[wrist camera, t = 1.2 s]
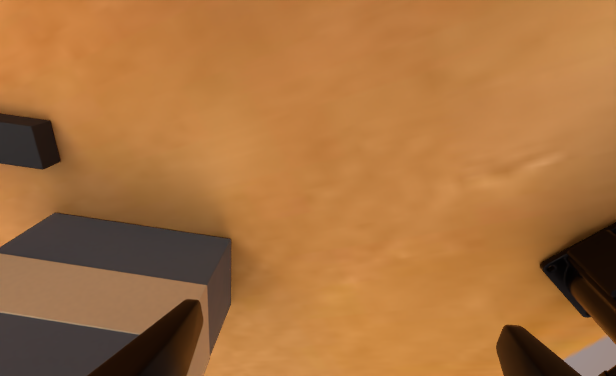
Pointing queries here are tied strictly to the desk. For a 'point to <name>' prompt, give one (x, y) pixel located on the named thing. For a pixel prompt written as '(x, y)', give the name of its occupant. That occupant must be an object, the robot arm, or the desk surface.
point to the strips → (27, 142)
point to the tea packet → (103, 291)
